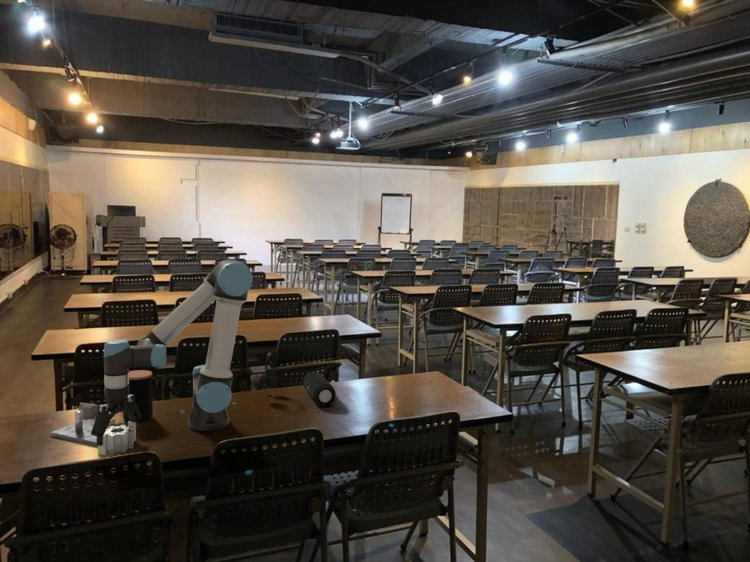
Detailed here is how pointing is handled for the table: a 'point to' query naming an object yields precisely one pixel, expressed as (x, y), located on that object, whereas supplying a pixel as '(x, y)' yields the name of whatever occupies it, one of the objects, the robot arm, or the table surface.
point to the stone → (88, 410)
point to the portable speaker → (319, 389)
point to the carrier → (81, 430)
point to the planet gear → (119, 438)
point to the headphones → (267, 374)
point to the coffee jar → (141, 393)
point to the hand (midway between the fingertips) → (117, 446)
